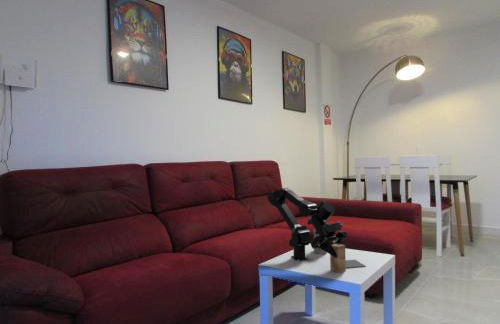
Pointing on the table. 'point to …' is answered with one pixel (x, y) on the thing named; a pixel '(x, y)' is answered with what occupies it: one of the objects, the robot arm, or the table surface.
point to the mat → (353, 264)
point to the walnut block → (338, 259)
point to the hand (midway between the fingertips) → (340, 256)
